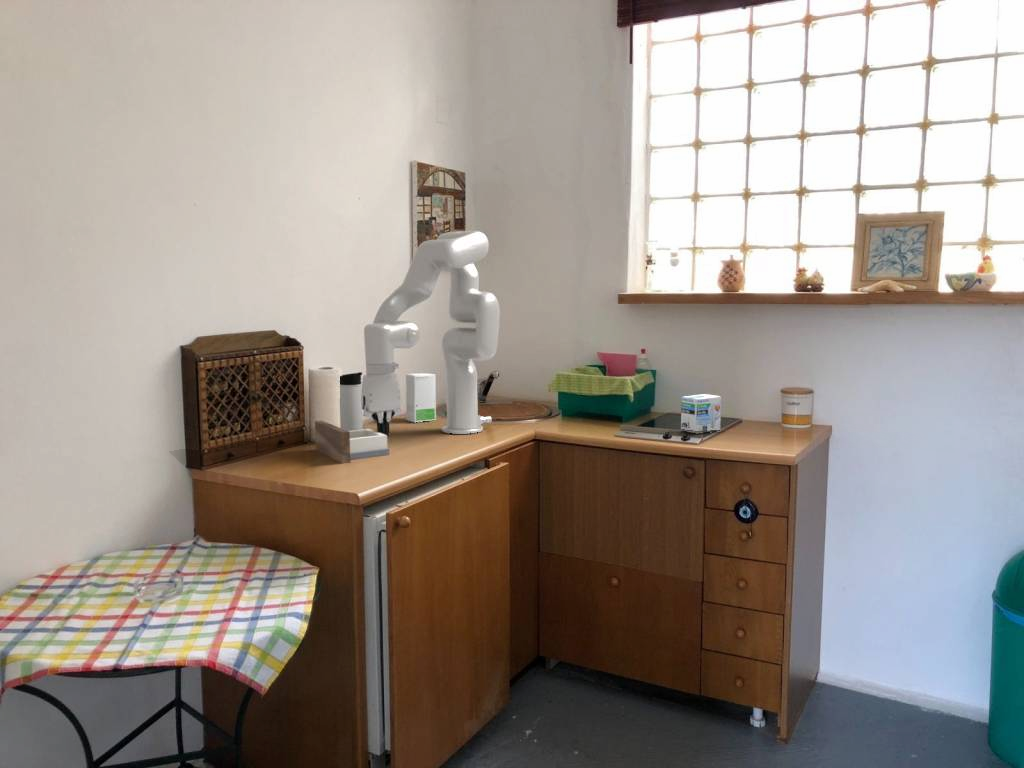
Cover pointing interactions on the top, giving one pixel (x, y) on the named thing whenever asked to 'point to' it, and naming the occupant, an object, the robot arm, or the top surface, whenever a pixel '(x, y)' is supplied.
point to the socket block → (367, 444)
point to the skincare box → (420, 397)
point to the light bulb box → (701, 412)
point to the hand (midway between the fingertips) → (383, 436)
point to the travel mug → (350, 402)
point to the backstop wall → (332, 441)
